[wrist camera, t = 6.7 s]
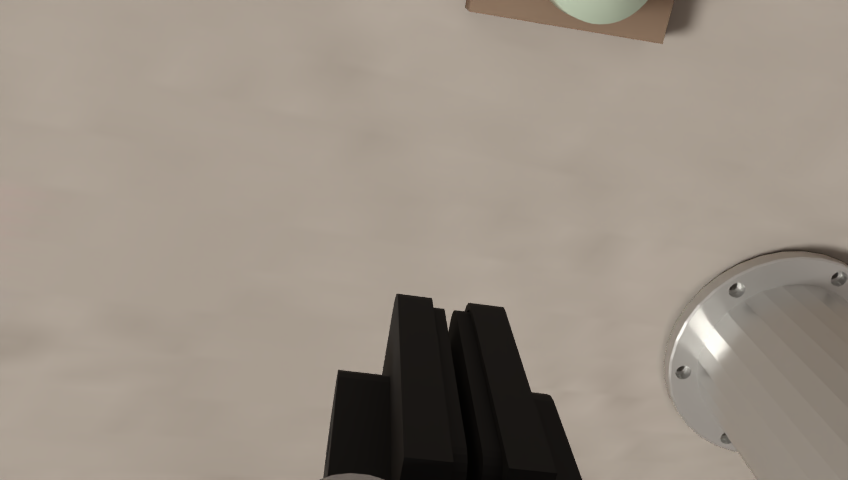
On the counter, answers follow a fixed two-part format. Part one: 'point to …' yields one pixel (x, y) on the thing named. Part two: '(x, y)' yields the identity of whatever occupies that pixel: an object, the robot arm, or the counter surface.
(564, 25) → the button board
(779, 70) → the counter surface
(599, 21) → the button sage
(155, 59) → the counter surface
